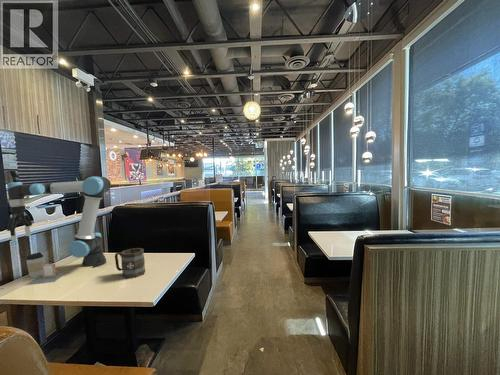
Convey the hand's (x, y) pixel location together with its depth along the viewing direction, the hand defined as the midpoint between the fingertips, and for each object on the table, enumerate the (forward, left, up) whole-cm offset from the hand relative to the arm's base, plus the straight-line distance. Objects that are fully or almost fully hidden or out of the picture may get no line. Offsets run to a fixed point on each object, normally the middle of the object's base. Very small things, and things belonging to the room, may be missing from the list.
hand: (21, 238), depth 170 cm
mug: (-70, +19, -26) cm, 77 cm away
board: (-20, +13, -26) cm, 35 cm away
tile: (-20, +10, -24) cm, 33 cm away
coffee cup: (-8, +2, -26) cm, 27 cm away
